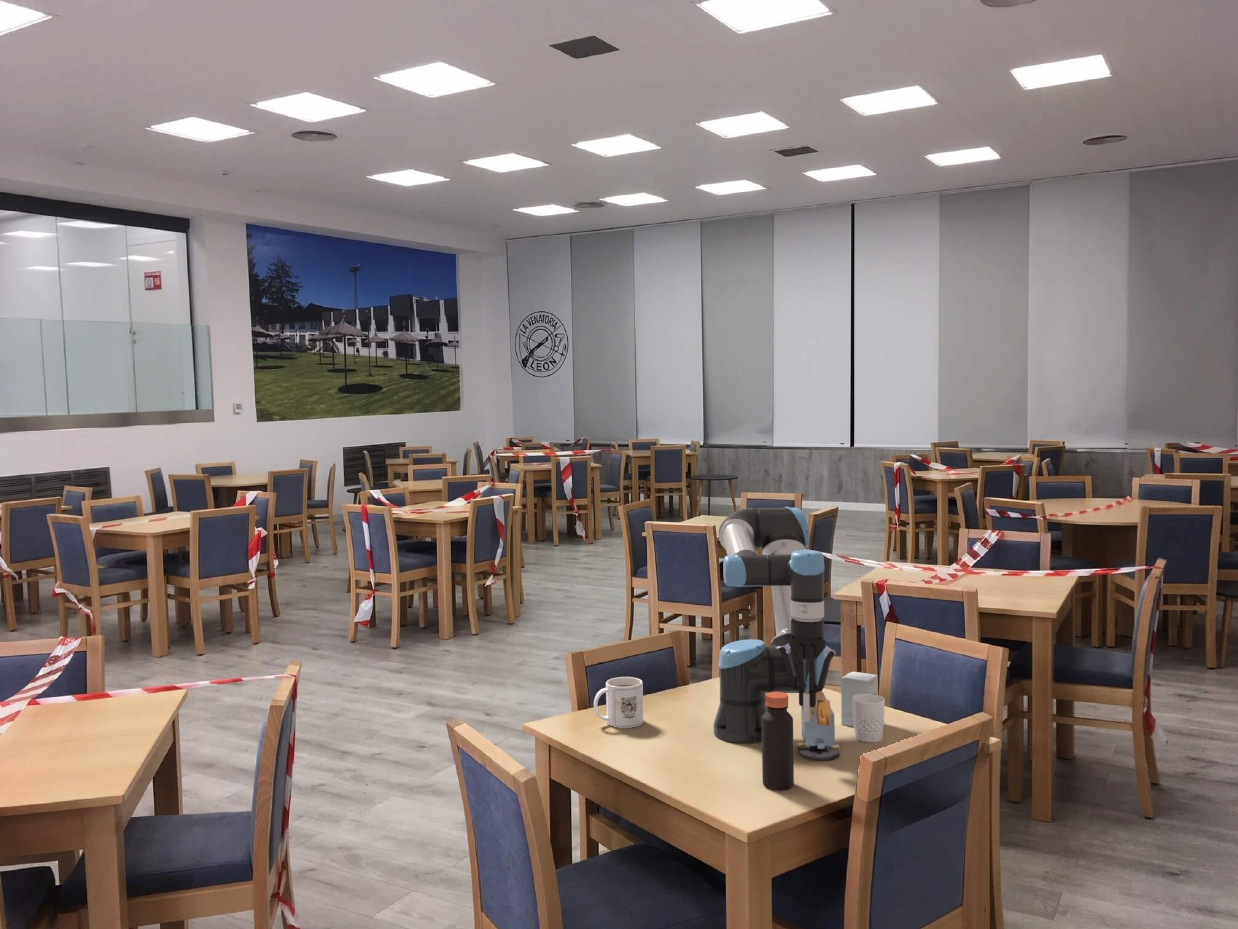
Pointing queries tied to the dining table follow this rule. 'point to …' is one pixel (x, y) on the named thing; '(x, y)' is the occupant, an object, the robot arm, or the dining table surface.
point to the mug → (622, 702)
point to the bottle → (777, 743)
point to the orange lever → (819, 724)
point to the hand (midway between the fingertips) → (807, 720)
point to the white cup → (868, 717)
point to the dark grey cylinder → (818, 752)
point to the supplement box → (855, 692)
